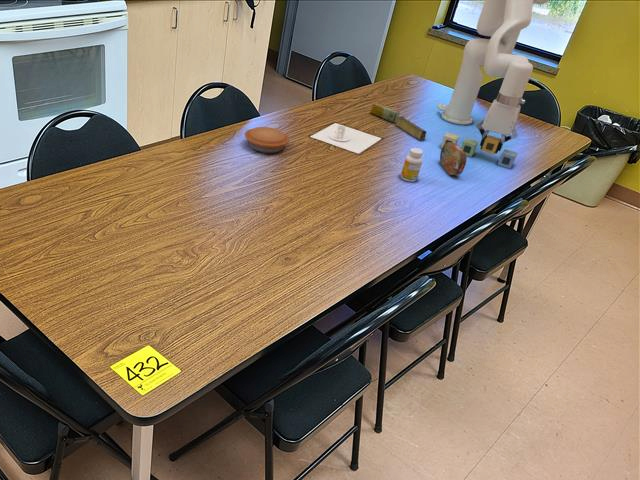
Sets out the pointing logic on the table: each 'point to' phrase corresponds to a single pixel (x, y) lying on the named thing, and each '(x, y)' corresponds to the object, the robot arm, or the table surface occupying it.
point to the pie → (266, 139)
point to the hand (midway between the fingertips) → (489, 149)
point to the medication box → (385, 112)
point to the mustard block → (490, 144)
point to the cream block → (450, 139)
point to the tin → (453, 158)
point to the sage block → (469, 146)
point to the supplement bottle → (412, 165)
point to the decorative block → (411, 128)
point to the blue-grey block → (507, 158)
